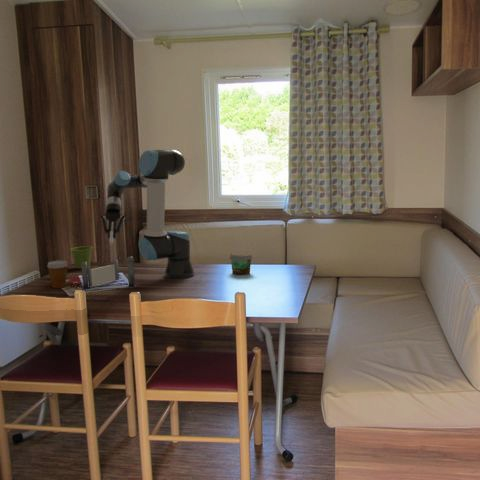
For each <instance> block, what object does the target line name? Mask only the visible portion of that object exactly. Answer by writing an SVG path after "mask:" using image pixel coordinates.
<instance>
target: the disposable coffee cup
mask: <svg viewBox="0 0 480 480" xmlns="http://www.w3.org/2000/svg"><path fill="white" fill-rule="evenodd" d="M68 265H69V263H68V261H67V260H52V261H49V262H47V265H46V266H47V269H48V272H49V277H50V282H51V287H52V288H53V289H61V288H65V287H67V276H68V275H67V274H68V273H67V272H68Z"/></svg>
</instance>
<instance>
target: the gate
mask: <svg viewBox="0 0 480 480" xmlns="http://www.w3.org/2000/svg"><path fill="white" fill-rule="evenodd" d="M87 274H88V287H90V288H92V287H96V286H98V285H103V284H107V283H110V282H115V281H119V280H120V278H119V261H118V259H113V260H112V264H109V265H104V266H100V267H95V268H91V267H88V268H87Z"/></svg>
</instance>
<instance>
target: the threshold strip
mask: <svg viewBox="0 0 480 480" xmlns="http://www.w3.org/2000/svg"><path fill="white" fill-rule="evenodd" d="M93 287H94V288H92V287H90V290H91V289H95V290H112V289H128V285H120V286H119V285H118V286H117V285H116V286H97V287H96V286H93Z"/></svg>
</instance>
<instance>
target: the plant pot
mask: <svg viewBox="0 0 480 480" xmlns="http://www.w3.org/2000/svg"><path fill="white" fill-rule="evenodd" d="M92 249H93V246H90V245H89V246H87V245H86V246H85V245H84V246H77V247H72V248H70V249H69V250H70V251H71V253H72V256H73V259H74V260H73V261H74V263H75V267H76V269H78V270H79V269H80V270H82V264H81V262H87V268H91V267H90V266H91V255H92V251H93V250H92Z"/></svg>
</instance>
